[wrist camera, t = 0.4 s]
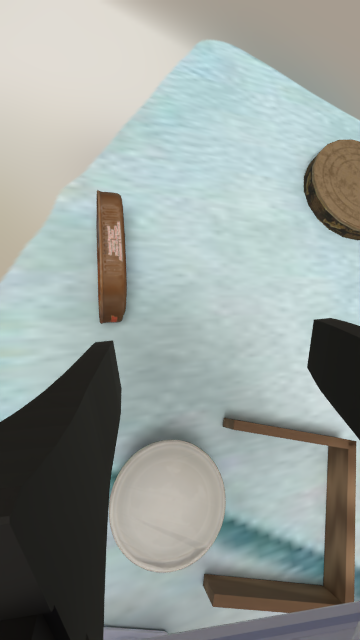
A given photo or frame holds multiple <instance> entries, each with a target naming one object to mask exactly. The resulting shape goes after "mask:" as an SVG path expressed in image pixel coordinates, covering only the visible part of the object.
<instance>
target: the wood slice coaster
mask: <svg viewBox="0 0 360 640" xmlns="http://www.w3.org/2000/svg"><path fill="white" fill-rule="evenodd" d="M304 193H305V196H306V199H307V202H308V205H309V207H310V208H311V210H312V211H313V213H314V214H315V216H316V217H317V219H318V220H319V221H320V222H322V223H323V224H324V225H325V226H326V227H327V228H328V229H329V230H331V231H333V232H335V233H336V234H338V235H340V236H342V237H345V238H349V239H354V240H360V142H359V141H355V140H338V141H335V142H332V143H330V144H327V145H326V146H325V147H324V148H323V149H322V150H321V151H320V152H319V153H318V155H317V156H316V157H315V158H314V160H313V161H312V162H311V163H310V164H309V166H308V168H307V170H306V173H305V176H304Z"/></svg>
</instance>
